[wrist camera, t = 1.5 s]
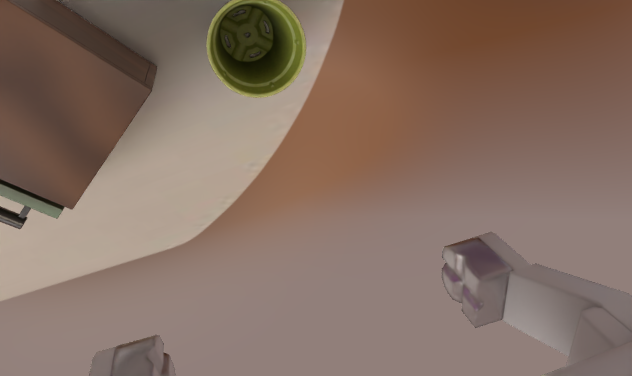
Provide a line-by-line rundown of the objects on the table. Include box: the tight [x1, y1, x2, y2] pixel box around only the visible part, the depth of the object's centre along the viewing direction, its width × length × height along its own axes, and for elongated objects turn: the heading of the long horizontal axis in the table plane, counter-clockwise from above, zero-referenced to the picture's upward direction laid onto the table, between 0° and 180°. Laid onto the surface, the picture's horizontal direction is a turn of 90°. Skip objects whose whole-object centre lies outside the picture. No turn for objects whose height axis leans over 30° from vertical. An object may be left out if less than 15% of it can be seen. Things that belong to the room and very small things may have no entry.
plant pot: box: [206, 0, 306, 98], centre depth 43 cm, size 9×9×9 cm
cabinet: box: [0, 0, 157, 209], centre depth 40 cm, size 15×13×10 cm
